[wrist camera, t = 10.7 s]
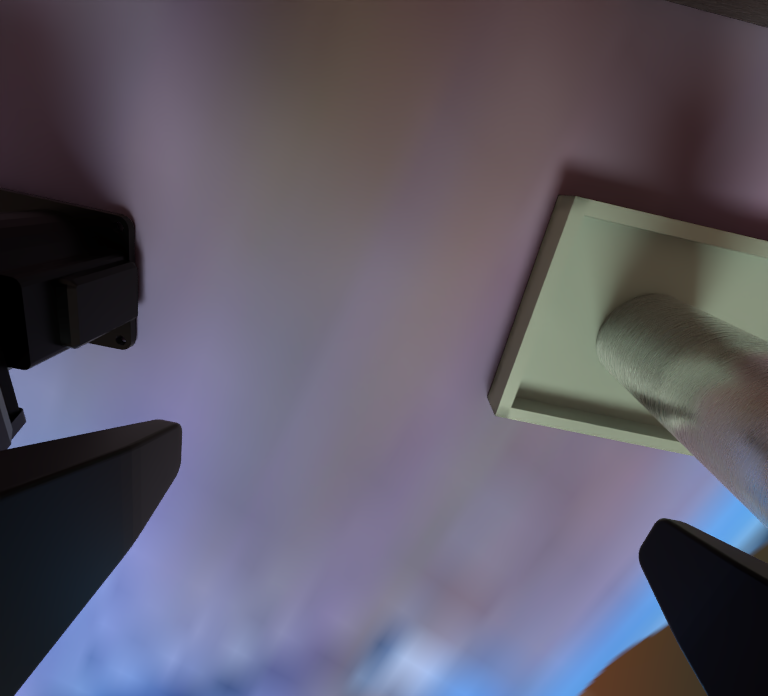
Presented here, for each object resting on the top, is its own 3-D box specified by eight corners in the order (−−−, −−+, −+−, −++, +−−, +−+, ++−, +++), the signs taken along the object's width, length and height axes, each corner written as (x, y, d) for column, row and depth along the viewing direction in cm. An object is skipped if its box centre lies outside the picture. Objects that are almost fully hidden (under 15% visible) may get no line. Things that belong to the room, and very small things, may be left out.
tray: (487, 397, 21) (495, 415, 20) (558, 194, 18) (575, 196, 16) (721, 445, 22) (748, 467, 20) (838, 260, 18) (882, 268, 17)
